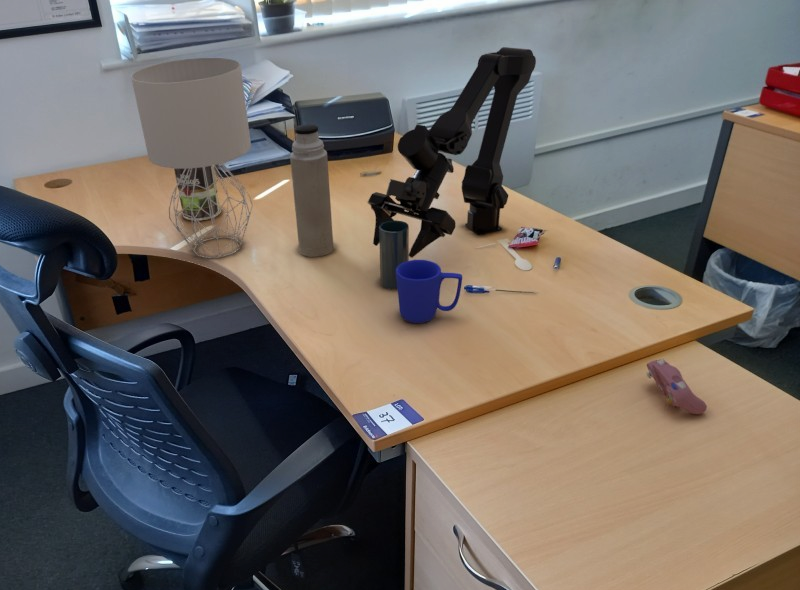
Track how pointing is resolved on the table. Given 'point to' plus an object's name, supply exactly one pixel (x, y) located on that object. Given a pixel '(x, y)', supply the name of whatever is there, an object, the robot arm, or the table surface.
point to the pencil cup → (392, 250)
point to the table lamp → (195, 125)
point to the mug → (422, 290)
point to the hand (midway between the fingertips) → (392, 250)
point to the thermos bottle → (311, 192)
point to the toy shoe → (675, 387)
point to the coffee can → (198, 192)
